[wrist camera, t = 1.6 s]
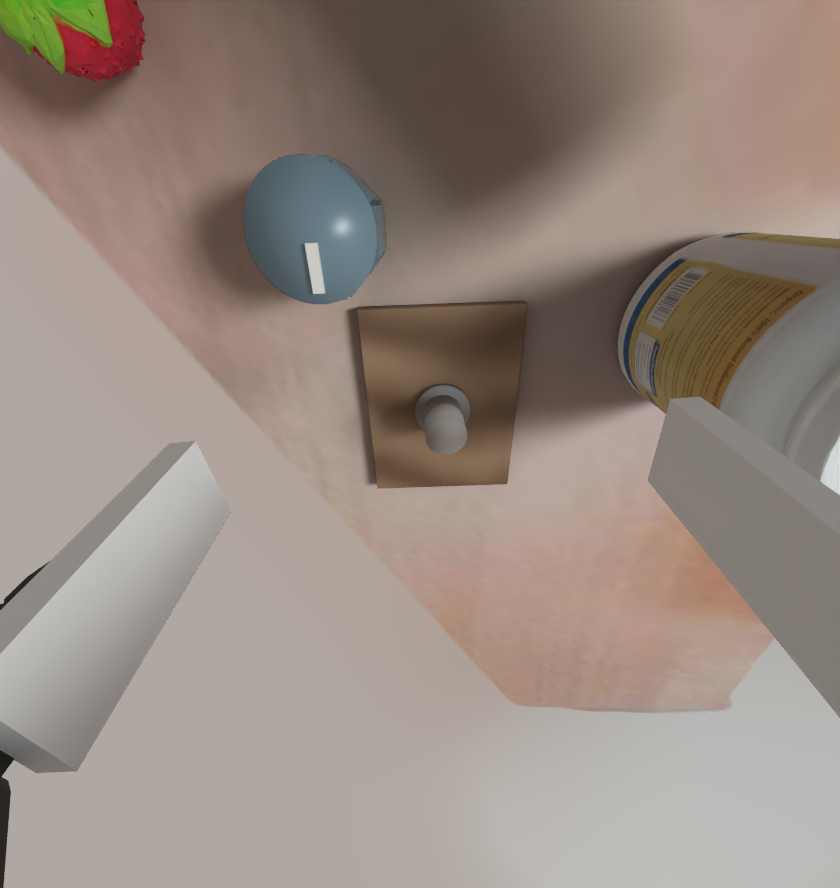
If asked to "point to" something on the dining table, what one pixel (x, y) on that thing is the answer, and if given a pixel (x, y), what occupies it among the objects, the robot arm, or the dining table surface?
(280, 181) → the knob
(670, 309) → the supplement tub
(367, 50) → the dining table surface
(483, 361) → the stud board
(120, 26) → the strawberry
